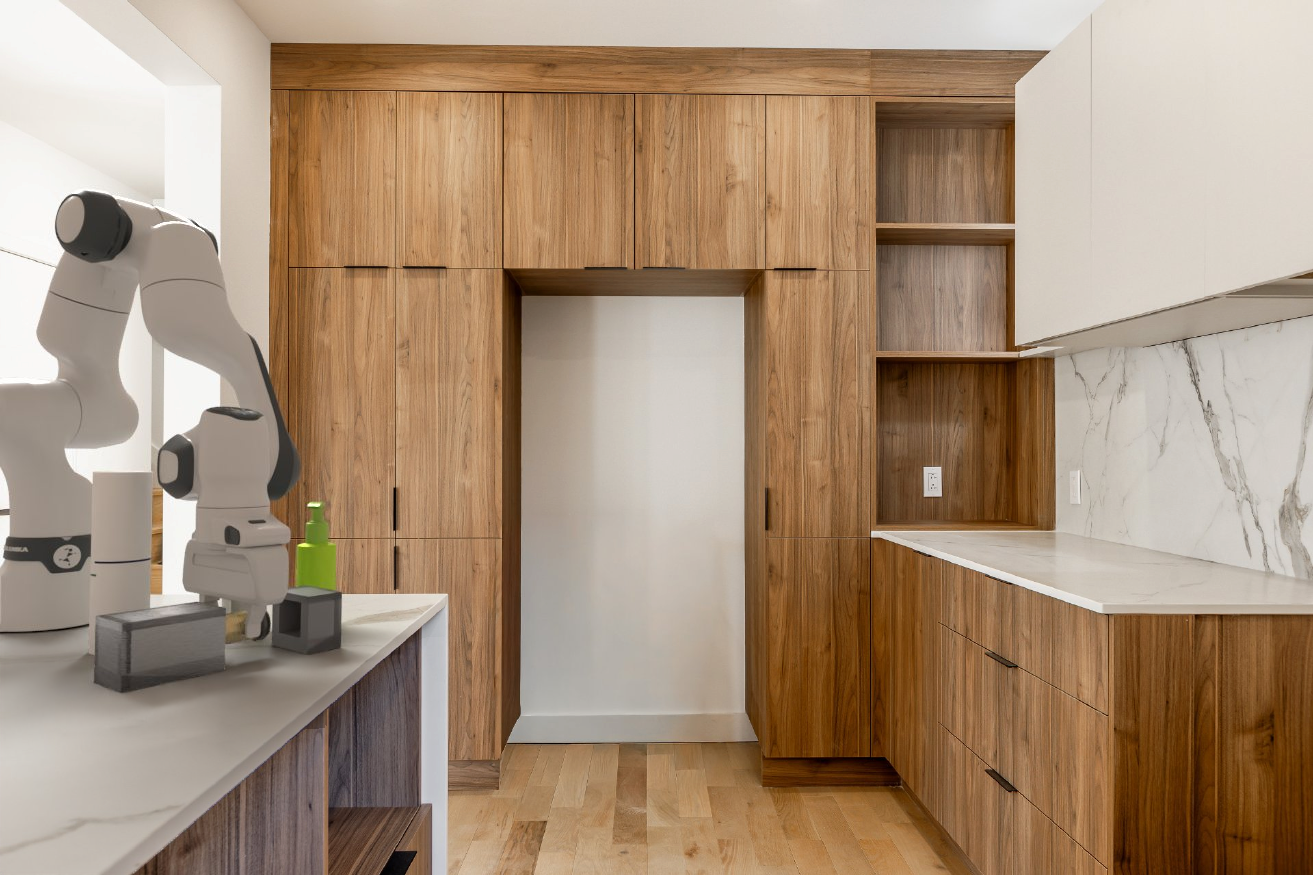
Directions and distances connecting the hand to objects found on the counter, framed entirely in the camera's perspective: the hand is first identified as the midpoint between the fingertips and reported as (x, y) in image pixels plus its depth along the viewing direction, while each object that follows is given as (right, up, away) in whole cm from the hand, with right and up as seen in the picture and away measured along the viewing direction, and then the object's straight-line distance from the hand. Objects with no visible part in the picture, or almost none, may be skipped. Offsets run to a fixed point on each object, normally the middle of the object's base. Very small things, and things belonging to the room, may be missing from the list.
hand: (231, 632), depth 109 cm
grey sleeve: (-5, -4, -7) cm, 10 cm away
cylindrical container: (-19, -4, +6) cm, 20 cm away
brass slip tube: (-2, -2, -3) cm, 4 cm away
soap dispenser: (+2, -5, +22) cm, 23 cm away
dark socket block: (+6, -4, +9) cm, 12 cm away
